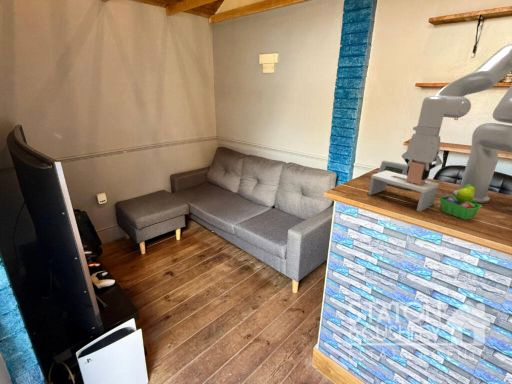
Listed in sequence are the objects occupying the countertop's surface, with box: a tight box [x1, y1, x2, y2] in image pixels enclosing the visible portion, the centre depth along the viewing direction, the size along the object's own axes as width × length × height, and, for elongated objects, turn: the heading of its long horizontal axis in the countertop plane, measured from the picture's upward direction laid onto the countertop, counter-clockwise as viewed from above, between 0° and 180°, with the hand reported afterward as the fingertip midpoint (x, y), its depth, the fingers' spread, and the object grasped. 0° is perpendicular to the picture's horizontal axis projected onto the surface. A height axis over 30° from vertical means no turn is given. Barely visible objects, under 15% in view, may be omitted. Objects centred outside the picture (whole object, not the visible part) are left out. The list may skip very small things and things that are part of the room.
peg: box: [406, 161, 427, 192], centre depth 108 cm, size 5×5×11 cm
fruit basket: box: [439, 184, 483, 220], centre depth 101 cm, size 11×9×11 cm
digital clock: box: [377, 160, 409, 190], centre depth 131 cm, size 16×9×11 cm, turn 31°
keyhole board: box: [368, 170, 440, 213], centre depth 114 cm, size 12×22×9 cm, turn 36°
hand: (416, 176), depth 108 cm, fingers closed on peg, 5 cm apart
